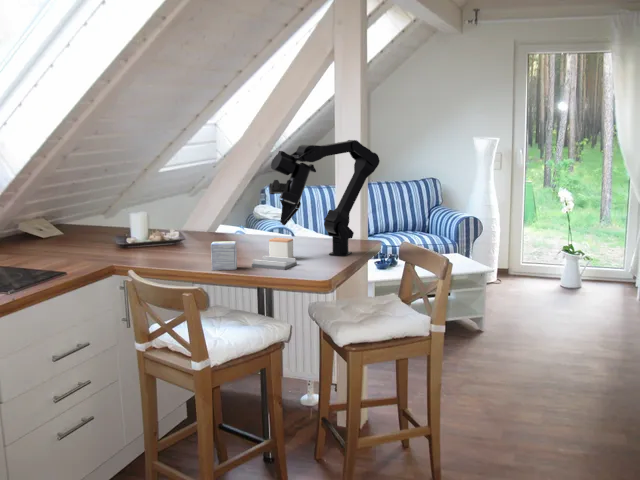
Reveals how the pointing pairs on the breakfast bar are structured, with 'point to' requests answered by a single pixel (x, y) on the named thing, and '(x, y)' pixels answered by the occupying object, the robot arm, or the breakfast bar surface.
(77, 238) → the breakfast bar surface
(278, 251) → the block
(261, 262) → the rail cradle
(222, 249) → the medicine box
